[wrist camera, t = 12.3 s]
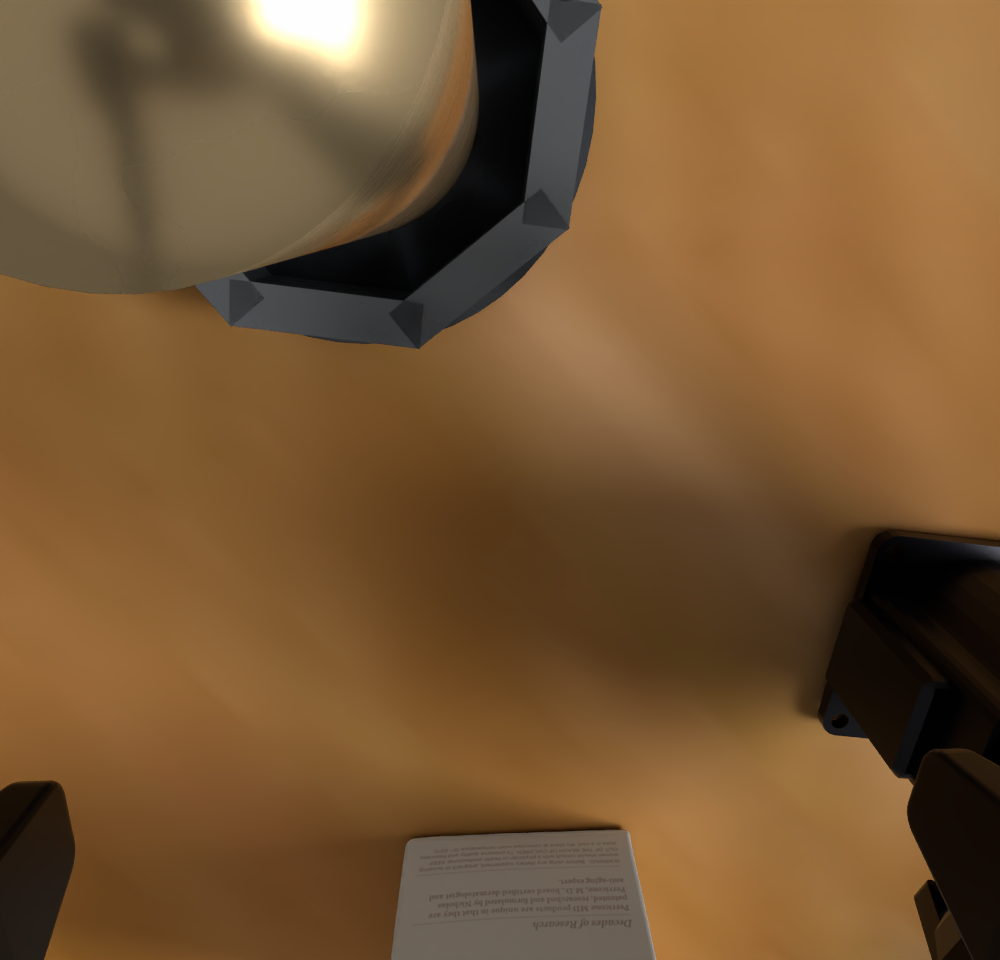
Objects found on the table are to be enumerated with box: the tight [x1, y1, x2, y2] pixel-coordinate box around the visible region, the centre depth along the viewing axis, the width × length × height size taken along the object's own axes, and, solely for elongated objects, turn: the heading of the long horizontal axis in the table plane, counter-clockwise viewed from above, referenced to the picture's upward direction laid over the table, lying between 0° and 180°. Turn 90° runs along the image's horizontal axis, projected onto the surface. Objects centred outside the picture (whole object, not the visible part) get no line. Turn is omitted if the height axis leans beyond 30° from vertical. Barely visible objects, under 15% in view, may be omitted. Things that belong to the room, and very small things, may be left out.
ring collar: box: [195, 0, 602, 349], centre depth 16 cm, size 11×11×2 cm
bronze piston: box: [0, 0, 480, 294], centre depth 11 cm, size 6×6×12 cm
